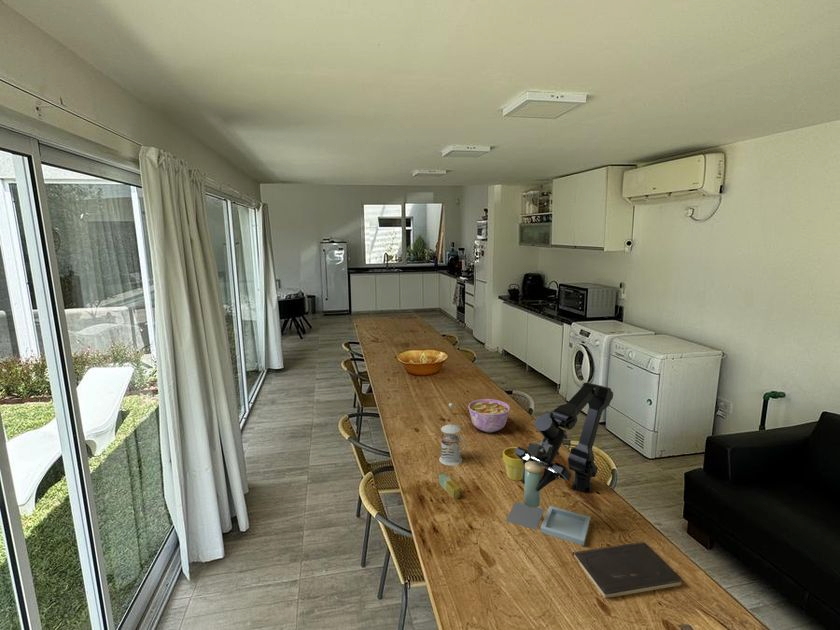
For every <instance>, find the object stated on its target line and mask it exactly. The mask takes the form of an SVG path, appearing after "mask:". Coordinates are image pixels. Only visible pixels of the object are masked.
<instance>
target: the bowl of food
mask: <svg viewBox="0 0 840 630" xmlns="http://www.w3.org/2000/svg"><path fill="white" fill-rule="evenodd" d="M468 411H469V417H470V419H471V423H472V424H473V426H474V427H475V428H476V429H478V430H480V431H482V432H485V433H495V432H497V431H500V430H501V429H503V428H505V425H506V423H507V421H508V417H509V413H510V411H511V407H510V405H509V404H508V403H506V402H504V401H502V400H498V399H492V398H490V399H489V398H482V399H475V400H473V401H471V402H469V404H468Z"/></svg>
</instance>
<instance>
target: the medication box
mask: <svg viewBox="0 0 840 630" xmlns="http://www.w3.org/2000/svg"><path fill="white" fill-rule="evenodd" d="M437 476H438V478H437V479H438V484H439V485H440V486H441V487H442V489H444V490H445V491H446V492H447V493H448V494H449V496H450V497H452V498H453V500H456V499H459V498H461V488H460V487H459V486H458V485H457V484H456V483H455V481H453V480H452V479H451V478H450V476H448V475H447V474H446V473H445V472H441V473H439V474H437Z"/></svg>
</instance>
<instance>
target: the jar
mask: <svg viewBox="0 0 840 630" xmlns="http://www.w3.org/2000/svg"><path fill="white" fill-rule="evenodd" d="M538 462H539V461H538ZM538 462H534V461H529V462H526V463H525V484H524V488H523V489H524V493H523V494H524V495H523V504H525V505H526V506H528V507H532V508H536V507H537V508H539V507H540V506H541V490H540V491H537V490H536V489H537V486H538V484H539V482H540V480H541V478H542V468H543V466H541V464H540V463H538Z"/></svg>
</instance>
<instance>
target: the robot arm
mask: <svg viewBox="0 0 840 630" xmlns="http://www.w3.org/2000/svg"><path fill="white" fill-rule="evenodd" d="M613 398H614V392H613V391H612V389H611V387H609V386H604V385H599V384H596V383H591V382H583V383H582V385H581V388H580V389H578V391H576V393H575V394H574V395H573V396H572V397H571V398H570V400H569V401H567V402H566V403H565V404H560V405H558V406H557V407H556V408H555V409H554V410H553V411H551V412H548V411H545V413H544V414H541V415H539V416H538V417H536V418H535V421H534V427H535V428H536V430H537V431H538V432H539V433H540V434H541V436H542V437H543V439H542V440H539V441H538V443H535V442H529V444H528V448H527V449H525V448H523V447H521V446H518V448H516V449H515V451H514V454H515V455H516V456H517V457H518V458H519V459H521V460H522V461H523V464H524V471H523V479H522V480H521V481H522V482H521V484H523V485H525V463H526V462H529V461H534V462H538V463H540V464H541V466H542V468H544V471H543V474H542V475H541V480H540V482H539V484H538V486H537V489H536V490H537V491H540V492H541V491H542V489H544V488H545V487H546V486H548V485H549V484H550V483H551V482H554V481H556V480H560V479H562V480H564V481H567V482H569V481H570V480H571V478H572V472H571V471H573V472H574V477H573V478H574V479H573V482H572V485H571V489H572V490H576V491H580V492H584V493H588V494H590V493H591V490H592V487H593V483H592V481H591V479H592V478H596V476H597V473H598V469H599V468H598V466H597V465H596V464H595V454H594V451H593V446H594V443H595V440H596V437H597V433H598V428H599V424H600V423H601V418H602V414H603V411H604V410H606V409H607V408H608V407H609V406H610V404H611V401H612V400H613ZM587 404H588V409H587V413H586V417H585V419H584V420H585V421H584V423H583V427H582V430H581V434H580V437H579V440H578V444H577V445H576V446H574V447H571V449H570V452H569V455H568V458H567V463H568V468H567V466H564V465H563V464H560V463H558V462H554V460H555V459H556V457H557V456H559V455H560V452H559V450H560V448H561V446H562V444H563V442H564V440H567V439H568V435H567V431H566V430H569V431H570V430H572V429H573V428H574V427H575V426H576V425H577V422H578V415H579V414H580V412H581V411H583V409H585V407H586V406H587ZM562 428H563V429H562ZM564 429H566V430H564ZM570 470H571V471H570Z"/></svg>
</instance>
